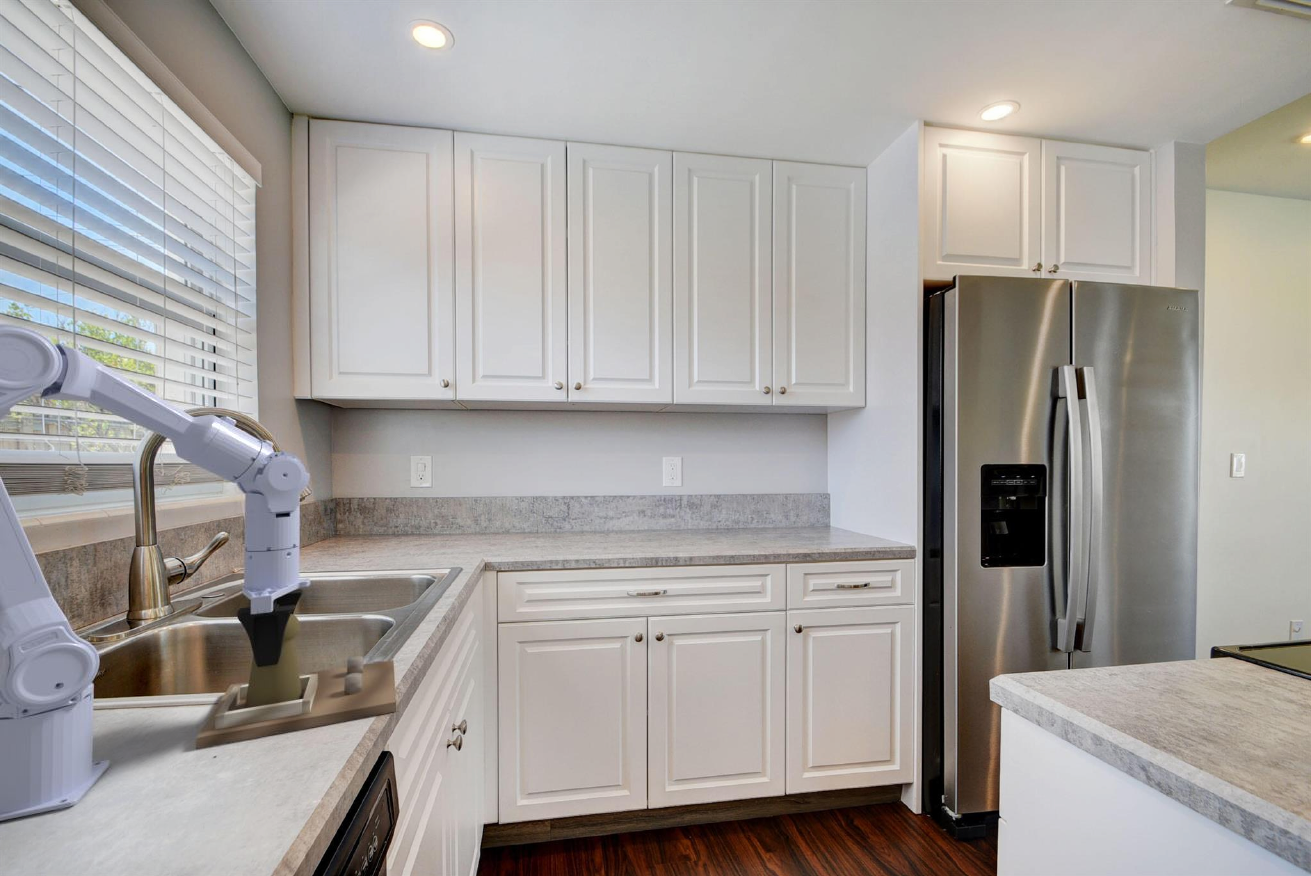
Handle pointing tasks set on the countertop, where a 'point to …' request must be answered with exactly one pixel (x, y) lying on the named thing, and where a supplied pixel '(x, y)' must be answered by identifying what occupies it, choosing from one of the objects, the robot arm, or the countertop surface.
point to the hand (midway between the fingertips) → (271, 657)
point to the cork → (277, 674)
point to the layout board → (305, 704)
